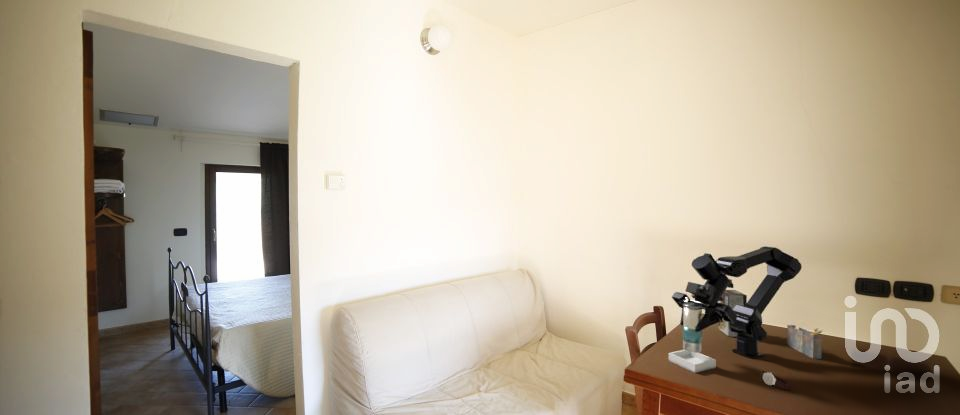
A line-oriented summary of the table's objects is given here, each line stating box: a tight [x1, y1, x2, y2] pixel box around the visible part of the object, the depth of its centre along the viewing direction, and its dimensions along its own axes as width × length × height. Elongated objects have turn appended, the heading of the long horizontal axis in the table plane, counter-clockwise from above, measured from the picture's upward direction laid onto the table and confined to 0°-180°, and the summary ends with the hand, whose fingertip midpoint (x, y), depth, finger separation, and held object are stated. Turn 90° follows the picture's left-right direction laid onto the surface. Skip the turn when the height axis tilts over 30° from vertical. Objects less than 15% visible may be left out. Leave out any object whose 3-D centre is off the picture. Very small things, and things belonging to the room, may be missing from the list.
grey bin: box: [668, 349, 717, 374], centre depth 117 cm, size 9×9×2 cm
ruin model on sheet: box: [786, 324, 823, 360], centre depth 127 cm, size 11×3×10 cm, turn 176°
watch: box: [760, 370, 790, 390], centre depth 104 cm, size 8×5×4 cm, turn 6°
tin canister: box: [682, 302, 703, 353], centre depth 117 cm, size 5×5×14 cm
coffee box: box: [718, 289, 748, 338], centre depth 144 cm, size 9×6×16 cm
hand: (689, 327), depth 116 cm, fingers closed on tin canister, 5 cm apart
